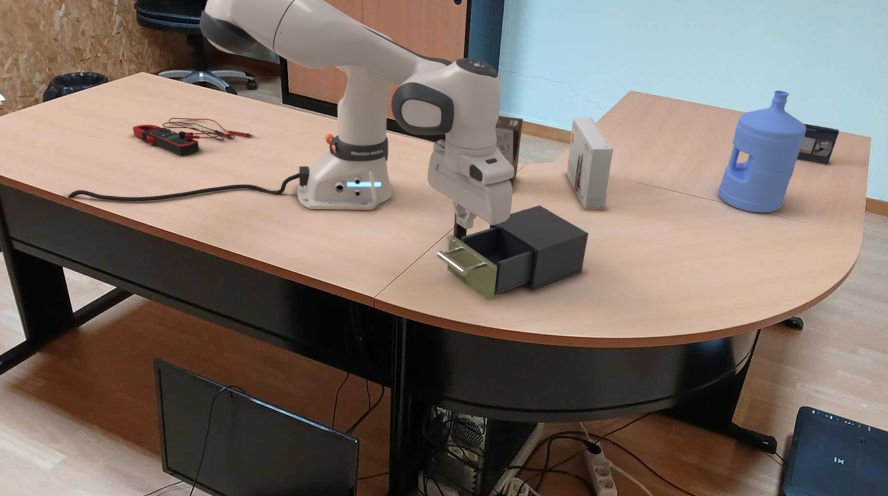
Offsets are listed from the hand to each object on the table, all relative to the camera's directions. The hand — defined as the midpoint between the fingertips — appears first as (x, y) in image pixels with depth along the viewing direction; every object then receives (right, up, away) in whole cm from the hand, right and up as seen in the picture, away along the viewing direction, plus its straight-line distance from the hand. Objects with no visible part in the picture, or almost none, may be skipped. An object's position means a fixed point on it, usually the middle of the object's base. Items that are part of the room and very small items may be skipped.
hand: (464, 225), depth 135 cm
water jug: (+74, +10, +52) cm, 91 cm away
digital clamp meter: (-73, +29, +65) cm, 102 cm away
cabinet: (+15, -7, +18) cm, 24 cm away
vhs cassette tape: (+98, +26, +80) cm, 130 cm away
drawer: (+4, -10, +10) cm, 14 cm away
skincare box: (+31, +12, +51) cm, 61 cm away
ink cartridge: (-1, -2, +24) cm, 24 cm away
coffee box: (+11, +15, +52) cm, 55 cm away
